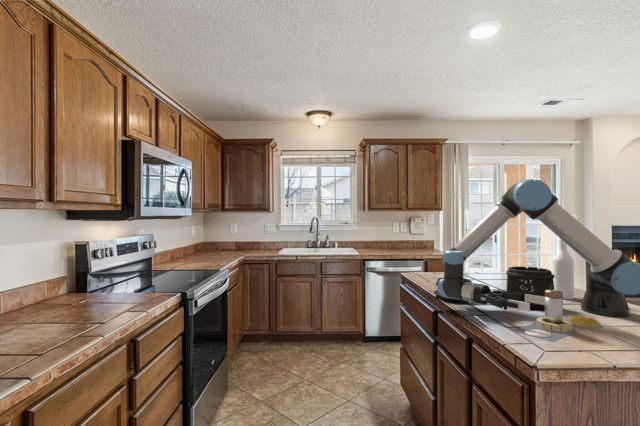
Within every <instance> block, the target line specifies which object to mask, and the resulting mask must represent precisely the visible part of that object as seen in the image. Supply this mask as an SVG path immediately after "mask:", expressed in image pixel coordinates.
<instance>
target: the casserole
mask: <svg viewBox="0 0 640 426" xmlns="http://www.w3.org/2000/svg"><path fill="white" fill-rule="evenodd" d="M443 278H444V276H443V277H439V278H437V280H436V282H435V285H436V287H437V286H438V282H439V281H440V280H441V279H443ZM463 281H464V282H471V283H473V282H472V280H471V279H468V278H464V277H463ZM433 294H435V295H437V296H439V297H440V298H442V299H445V300H453V301H459V300H458V299H452V298H448V297H444V296H441V295H440V294H439V292H438V289H436V290H434V291H433Z"/></svg>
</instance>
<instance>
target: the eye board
mask: <svg viewBox="0 0 640 426" xmlns="http://www.w3.org/2000/svg"><path fill="white" fill-rule="evenodd" d="M581 330H582V329H580V328H577V327H573V324H572V323H571V322H569V320H566V319H563V324H551V323H547V322H545V316H540V317H537V318H536V321H535V322H533V323H529V324H527V325H525V326H522V327H519V328H516V329H513V330H512V332H514V333H518V334H521V335H525V336H528V337H529V336H530V337H532V338H536V339H540V340H544V341H547V342H551V343H555V342H557V341H560V340H561V339H565V338H566V337H568V336H570V335H573V334H575V333H577V332H580V331H581Z"/></svg>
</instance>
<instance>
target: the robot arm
mask: <svg viewBox="0 0 640 426" xmlns="http://www.w3.org/2000/svg"><path fill="white" fill-rule="evenodd" d="M521 213H524V214H525V215H527V216H528V217H529V218H530V219H531V220H532V221H540V222H541V224H543V225H544V226H545V227H546V228H548V229H549V230H550V231H551V232H552V233H553V234H555V235H556V236H557V237H558V238H560V239H562V240H563V241H564V242H565V243H566V246H568V247H569V248H571V249H572V250H573V251H575V253H577V254H578V255H579V256H580V257H581V259H583V260H585V291H584V295H583V297H582V300H581V302H580V310H582V311H584V312H588V313H592V314H595V315H600V316H606V317H608V316H609V317H620V318H621V317H629V316H630V315H631V314H630V313H631V310H630V307H629V304H628V301H627V299H626V297H625V295H629V296H631V295H632V296H634V295H638V294H640V262H637V261H633V259H631V258H630V257H629V256H627V255H626V254H625V253H624V252H623V251H622V250H620V249H611V247H609V246H608V245H607V244H606V243H605V242H604V241H602V240H601V239H600V238H599V237H598V236H597V235H595V234H594V233H593V232H592V231H590V229H588V228H587V227H586V226H584V225H583V224H582V223H581V222H580V221H579V220H577V219H576V218H575V217H574V216H573V215H572V214H570V213H569V212H568V211H567V210H565V208H564V207H563V206H561V205H560V204H559V198H558V197H557V196H556V195H555V194H554V193H553V192H552V190H551V188H550V186H549V185H548V184H547V183H546V182H544V181H543V180H539V179H535V178H534V179H533V178H530V179H529V178H528V179H525V180H522V181H519V182H516V183H514V184H512V185H511V186H510V187H509V188H508V189H507V190H506V192H505V193H504V194H503V195H502V196H501V197H500V198H499V199H498V200H497V201H496V202H495V207H494V208H493V209H492V210H490V212H488V213H487V214H486V215H485V216H484V217H483V218H482V219H481V220H480V221H479V222H478V223H477V224H475V226H473V227H472V228H471V229H470V231H468V232H467V233H466V234H464V236H463V237H462V238H461V239H460V240H459V241H458V242H457V243H456V244H455V245H454V246H453V247H451V248H450V249H449V250H445V251H444V253H443V255H442V257H441V263H442V266H443V277H444V278H443V277H442V278H443V279H441V280H440V281H439V282H438V286H437V285H436V287H437V290H438V292H439V294H440V295H441V296H444V297H448V298H452V299H458V300H457V301H464V302H468V304H471V303H475V304H478V305H482V306H484V305H485V306H486V305H491V306H494V307H496V308H500V309H503V310H505V311H507V310H508V308H509V309H513V310H517V311H518V310H519V311H524V312H527V313H528V312H530V311H531V310H530V303H536V304H542V305H545V297H542V296H536V295H530V294H526V292H525V291H524V292H512V291H507V290H500V289H497V290H496V289H495V290H491V288H490V286H489V285H487V284H482V283H476V282H472V283H471V282H464V281H463V278H464V263H465V261H466V260H467V259H469V257H470V256H471V255H473V254H474V253H475V252H476V251H477V250H478V249H479V248H480V247H481V246H482V245H484V244H485V242H486V241H488V239H490V238H491V237H492V236H493V235H494V234H495V233H497V231H498V230H500V229H501V227H503V226H504V225H505V224H506V223H507V222H509V220H510V219H515V218H516V217H518V216H519V215H520V214H521ZM441 296H440V297H441ZM507 300H508V301H507ZM515 300H522V301H525V302H520V301H515ZM526 302H530V303H526Z"/></svg>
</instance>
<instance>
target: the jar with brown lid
mask: <svg viewBox="0 0 640 426" xmlns="http://www.w3.org/2000/svg"><path fill="white" fill-rule="evenodd" d="M544 317H545V322H547V323H551V324H563V320H564V299H563V292H562V291H559V290H550V289H547V290H545V311H544Z"/></svg>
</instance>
